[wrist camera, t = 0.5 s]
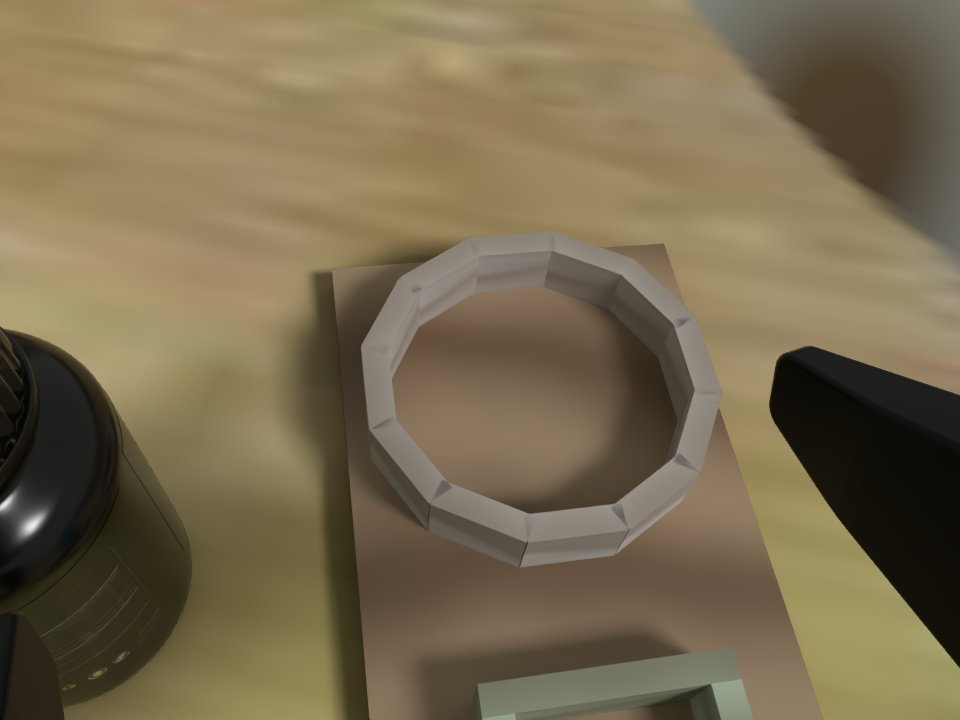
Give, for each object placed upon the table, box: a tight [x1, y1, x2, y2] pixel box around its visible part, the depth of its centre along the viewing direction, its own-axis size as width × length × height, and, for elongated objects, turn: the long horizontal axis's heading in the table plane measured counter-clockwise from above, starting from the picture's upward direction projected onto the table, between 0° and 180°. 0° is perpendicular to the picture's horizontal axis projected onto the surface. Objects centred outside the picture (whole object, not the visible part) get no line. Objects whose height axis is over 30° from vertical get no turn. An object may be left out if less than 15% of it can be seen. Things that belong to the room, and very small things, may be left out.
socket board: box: [332, 231, 823, 720], centre depth 25 cm, size 24×12×3 cm, turn 9°
